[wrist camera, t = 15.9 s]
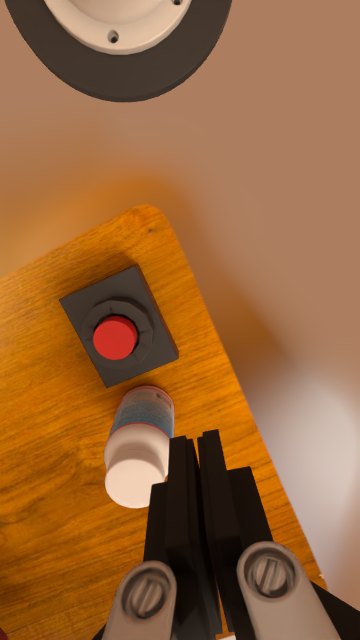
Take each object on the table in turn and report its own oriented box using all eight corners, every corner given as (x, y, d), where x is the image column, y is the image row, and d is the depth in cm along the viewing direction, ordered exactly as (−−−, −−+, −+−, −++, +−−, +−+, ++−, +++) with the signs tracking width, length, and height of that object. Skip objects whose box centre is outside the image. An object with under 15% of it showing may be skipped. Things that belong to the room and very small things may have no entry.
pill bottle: (111, 393, 36) (81, 464, 25) (163, 376, 35) (157, 440, 24) (131, 439, 37) (112, 524, 26) (182, 423, 37) (183, 504, 26)
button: (90, 324, 30) (85, 330, 28) (126, 309, 29) (123, 314, 28) (108, 358, 31) (104, 366, 29) (143, 344, 30) (141, 350, 29)
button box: (66, 295, 33) (51, 303, 29) (138, 263, 32) (132, 267, 28) (110, 379, 35) (102, 397, 31) (178, 351, 34) (178, 366, 30)
